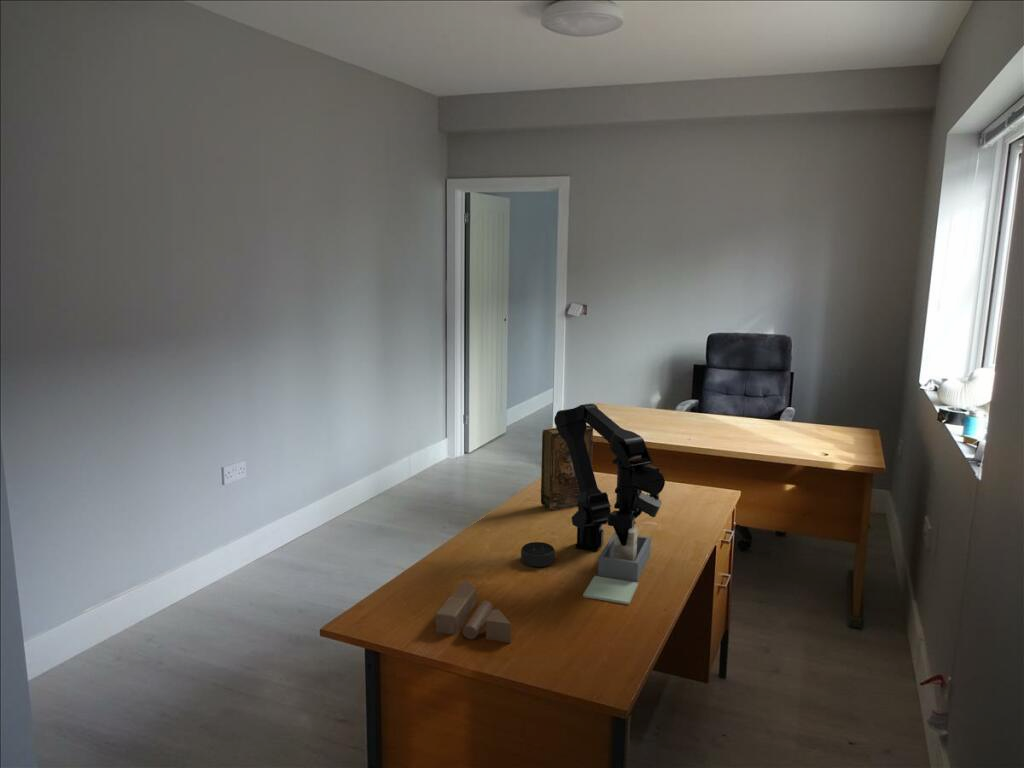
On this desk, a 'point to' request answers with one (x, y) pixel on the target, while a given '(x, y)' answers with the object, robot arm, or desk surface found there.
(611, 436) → the robot arm
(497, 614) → the wooden block set
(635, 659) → the desk surface
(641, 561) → the slotted box
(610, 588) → the sage mat
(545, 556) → the smart speaker
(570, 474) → the book
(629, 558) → the ash block
